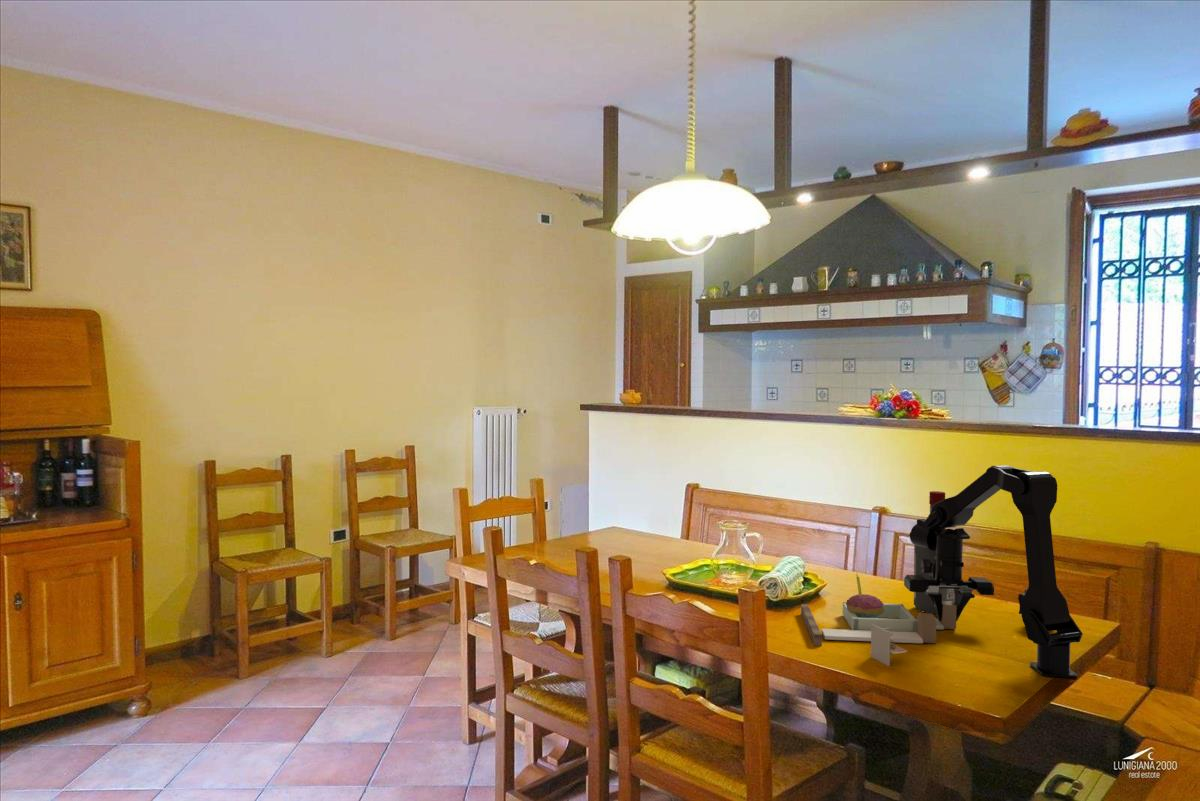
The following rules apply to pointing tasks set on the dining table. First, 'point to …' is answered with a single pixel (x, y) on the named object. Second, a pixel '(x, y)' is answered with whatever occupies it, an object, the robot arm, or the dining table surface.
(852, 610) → the cupcake
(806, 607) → the walnut back rail
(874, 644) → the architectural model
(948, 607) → the tray
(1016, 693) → the dining table surface
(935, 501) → the liquor
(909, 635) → the cream lane
